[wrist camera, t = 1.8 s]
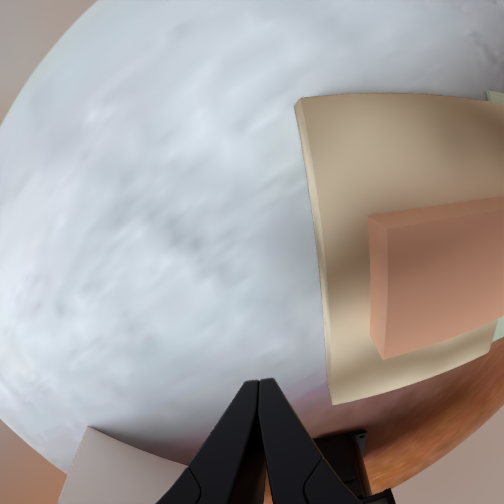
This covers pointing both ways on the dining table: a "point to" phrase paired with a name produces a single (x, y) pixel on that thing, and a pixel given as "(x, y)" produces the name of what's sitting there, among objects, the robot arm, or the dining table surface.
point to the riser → (385, 201)
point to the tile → (435, 273)
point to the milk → (116, 473)
